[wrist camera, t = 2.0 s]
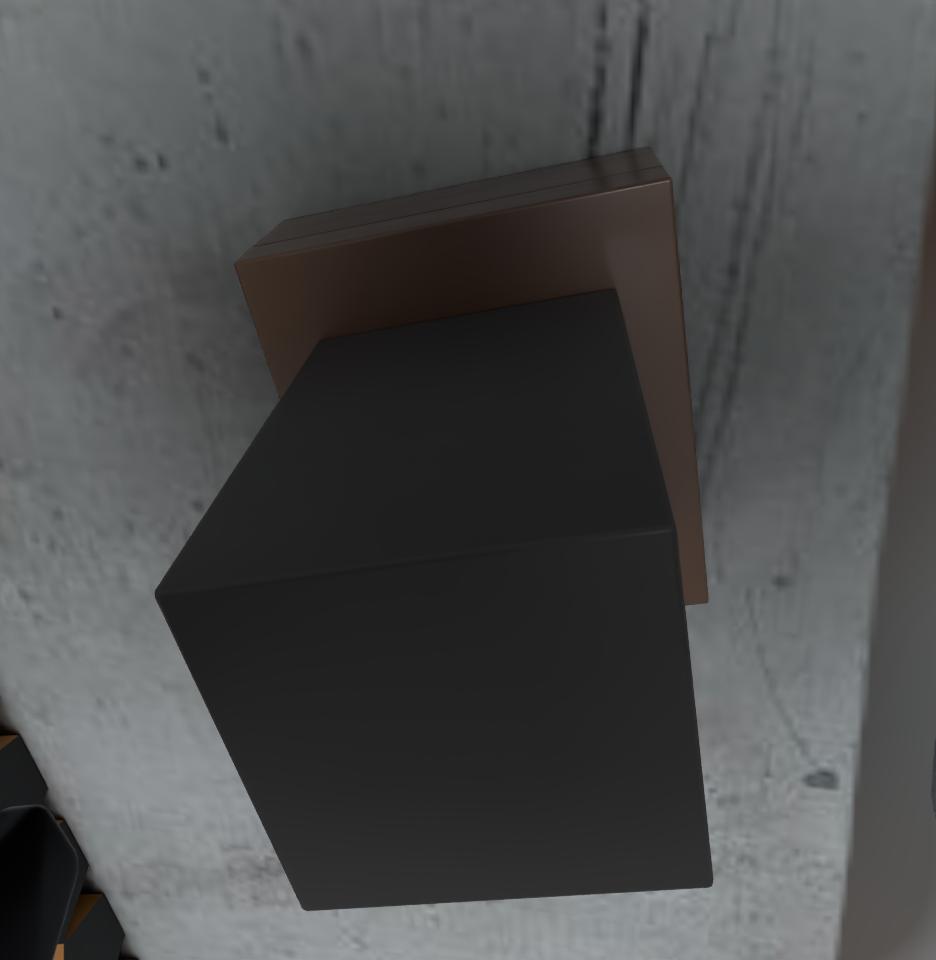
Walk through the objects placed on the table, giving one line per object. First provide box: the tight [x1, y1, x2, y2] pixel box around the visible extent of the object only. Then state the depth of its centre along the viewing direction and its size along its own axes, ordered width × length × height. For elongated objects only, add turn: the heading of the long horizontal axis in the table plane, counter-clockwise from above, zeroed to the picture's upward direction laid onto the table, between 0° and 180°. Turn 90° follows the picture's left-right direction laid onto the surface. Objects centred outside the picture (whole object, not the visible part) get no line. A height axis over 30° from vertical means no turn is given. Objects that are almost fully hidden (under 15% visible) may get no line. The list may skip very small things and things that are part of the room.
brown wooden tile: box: [234, 147, 709, 606], centre depth 16 cm, size 7×8×3 cm
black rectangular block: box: [155, 289, 713, 911], centre depth 12 cm, size 5×5×7 cm
